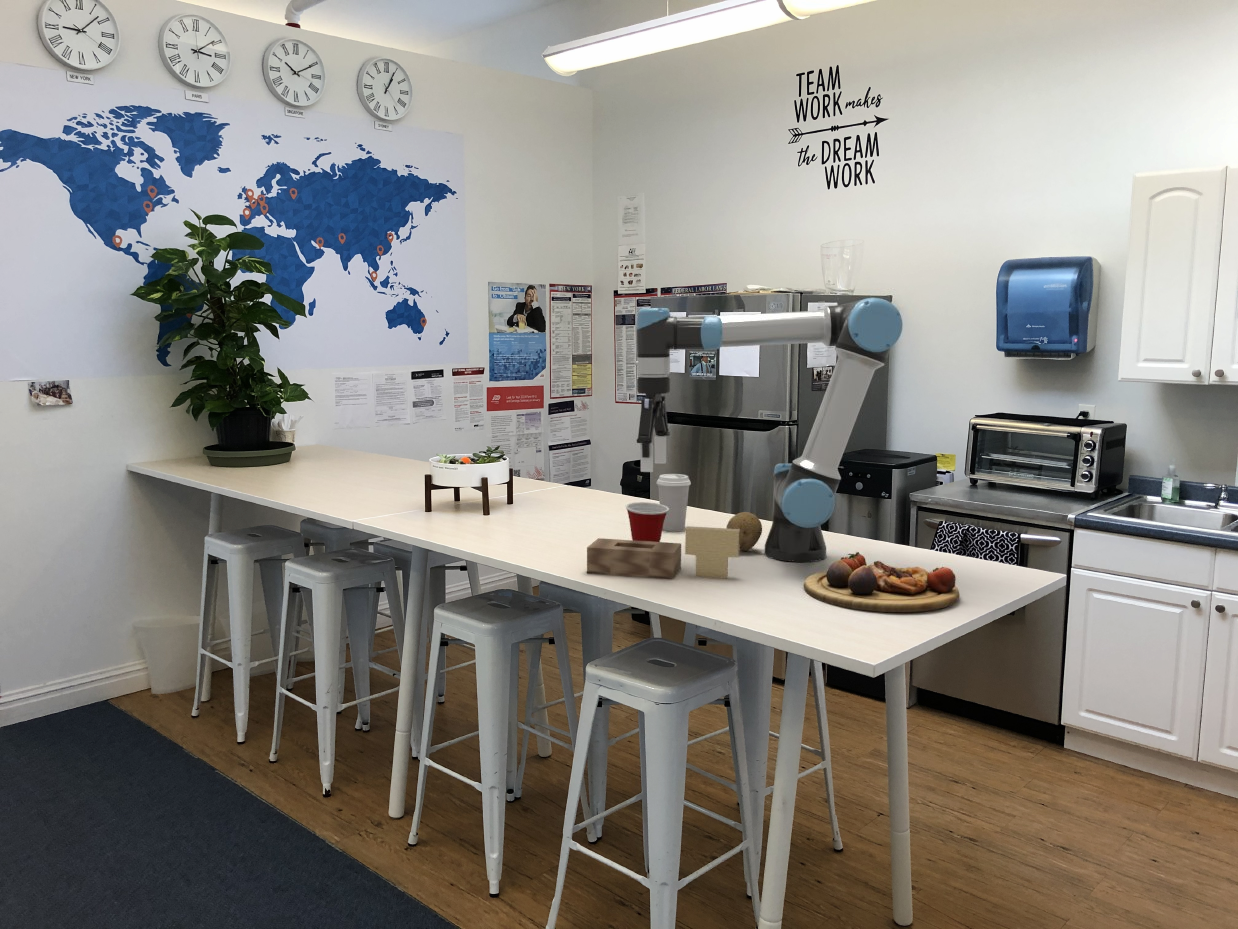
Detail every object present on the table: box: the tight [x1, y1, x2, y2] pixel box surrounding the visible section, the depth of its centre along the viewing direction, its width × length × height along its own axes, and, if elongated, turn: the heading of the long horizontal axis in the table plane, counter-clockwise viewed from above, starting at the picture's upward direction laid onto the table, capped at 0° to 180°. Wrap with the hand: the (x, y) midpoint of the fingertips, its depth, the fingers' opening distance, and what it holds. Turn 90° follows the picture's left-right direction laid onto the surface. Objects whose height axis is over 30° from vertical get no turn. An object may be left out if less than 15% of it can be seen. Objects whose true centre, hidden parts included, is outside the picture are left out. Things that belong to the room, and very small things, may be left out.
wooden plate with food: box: [803, 551, 960, 613], centre depth 205 cm, size 32×32×8 cm
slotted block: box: [586, 537, 682, 580], centre depth 221 cm, size 20×10×6 cm, turn 76°
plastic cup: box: [625, 501, 669, 542], centre depth 238 cm, size 11×11×12 cm
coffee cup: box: [656, 473, 692, 532], centre depth 267 cm, size 10×10×15 cm
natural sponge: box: [726, 511, 763, 552], centre depth 242 cm, size 9×9×10 cm
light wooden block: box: [684, 525, 741, 580], centre depth 216 cm, size 12×2×11 cm, turn 76°
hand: (653, 467), depth 223 cm, fingers open, 13 cm apart
